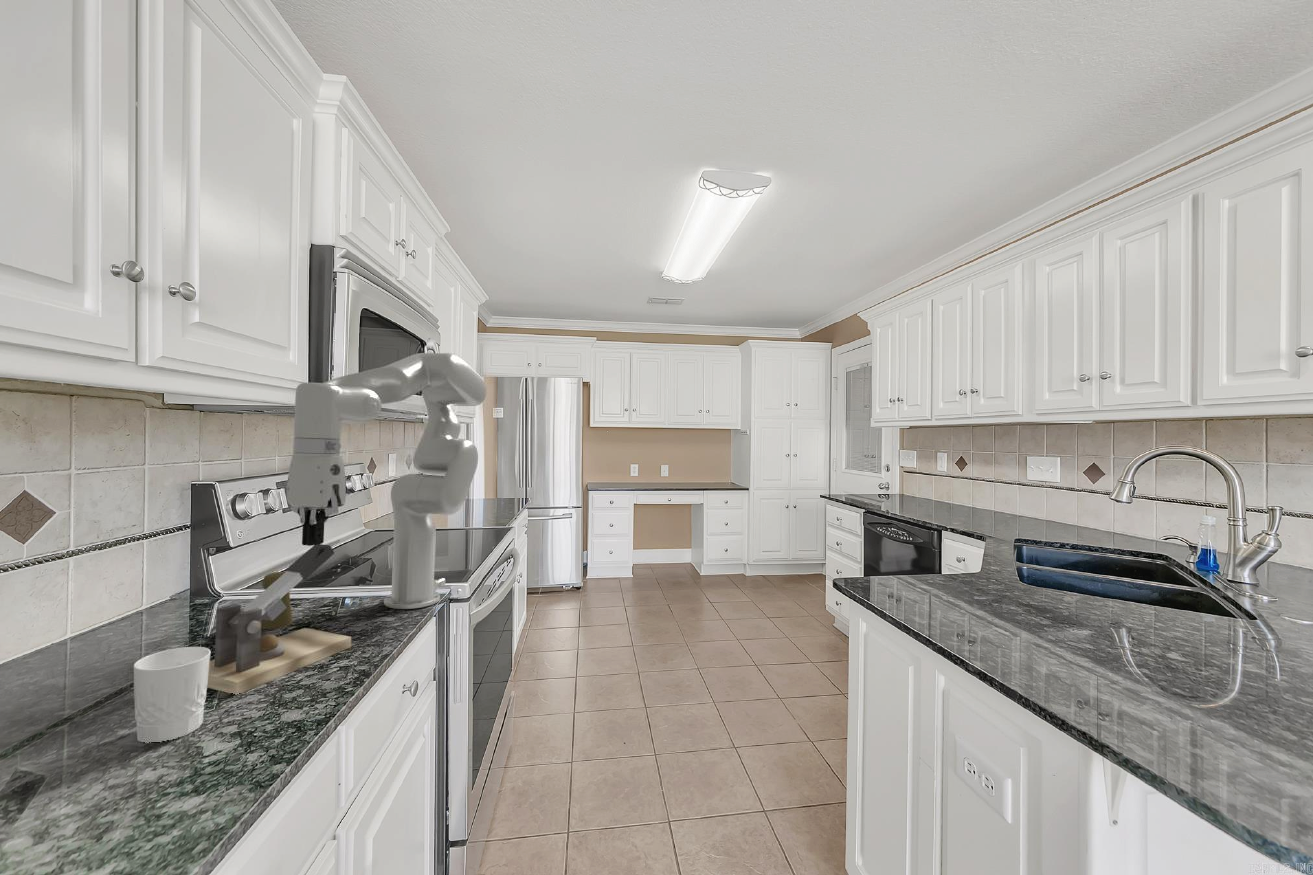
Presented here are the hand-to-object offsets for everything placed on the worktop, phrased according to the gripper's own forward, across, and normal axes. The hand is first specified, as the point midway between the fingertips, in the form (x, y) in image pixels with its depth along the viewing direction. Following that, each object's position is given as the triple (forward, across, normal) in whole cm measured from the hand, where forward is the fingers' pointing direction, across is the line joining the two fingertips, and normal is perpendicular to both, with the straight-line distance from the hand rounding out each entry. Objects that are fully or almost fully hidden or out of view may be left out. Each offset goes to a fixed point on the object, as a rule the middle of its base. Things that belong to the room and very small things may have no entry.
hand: (312, 544), depth 102 cm
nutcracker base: (+20, 0, +6) cm, 21 cm away
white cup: (+20, -8, +27) cm, 35 cm away
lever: (+9, 0, +4) cm, 10 cm away
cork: (+20, +18, -7) cm, 28 cm away
